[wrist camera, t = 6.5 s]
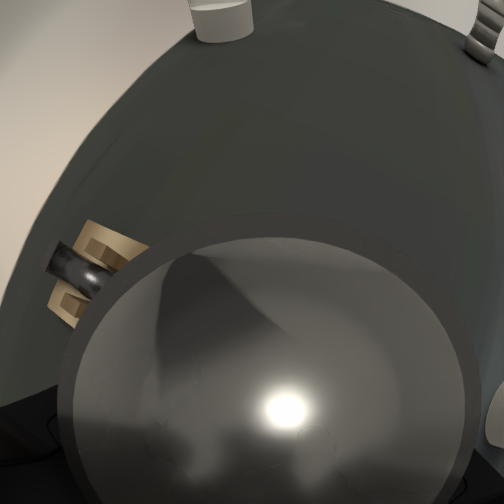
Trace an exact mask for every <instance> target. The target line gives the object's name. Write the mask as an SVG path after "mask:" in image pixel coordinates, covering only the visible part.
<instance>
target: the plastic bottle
mask: <svg viewBox="0 0 504 504" xmlns="http://www.w3.org/2000/svg"><path fill="white" fill-rule="evenodd" d="M476 17H477V18H476V20H475V23H474V25H473V27H472V30H471V31H470V33H469V35H468V36H467V37H466V39H465V44H464V47H465V50H466V51H467V52H468V53H469V54H470V55H471V56H472V57H474V58H475V59H476V60H478V61H480V62H482V63H484V64H488V63H490V61H491V60H492V59H493V55H494V49H495V46H496V42H497V39H498V36H499V33H500V32H501V30H502V28H503V26H504V0H479V5H478V12H477V16H476Z"/></svg>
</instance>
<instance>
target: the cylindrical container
mask: <svg viewBox="0 0 504 504" xmlns="http://www.w3.org/2000/svg"><path fill="white" fill-rule="evenodd" d="M485 434H486V438H487V440H488V442H489V443H490V444H491V445H494V446H497V447H501V448H504V381H503V382H502V384H501V385H500V386H499V388H498V389H497V391H496V393H495V395H494V397H493V399H492V401H491V403H490V406H489V409H488V412H487V417H486V423H485Z"/></svg>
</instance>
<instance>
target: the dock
mask: <svg viewBox="0 0 504 504" xmlns="http://www.w3.org/2000/svg"><path fill="white" fill-rule="evenodd" d="M147 248H149V247H148V246H146V245H144V244H142V243H139V242H137V241H135V240H132V239H130V238H128V237H126V236H123V235H121V234H119V233H117V232H114V231H112V230H110V229H108V228H106V227H103V226H101V225H99V224H97V223H95V222H92V221H90V220H87V222H86V224H85V226H84V227H83V229H82V231H81V233H80V235H79V237H78V239H77V241H76V243H75V245H74V247H73V249H74V250H75V251H77V252H78V253H79V254H81V255H83V256H84V257H86V258H88V259H89V260H91V261H93V262H95V263H96V264H98V265H100V266H102V267H104V268H105V269H107V270H109V271H111V272H113V273H114V274H115V273H116V272H117V271H119V270H120V269H121V268H122V267H123V266H124V265H125V264H126V263H127V262H129V261H130V260H132V259H133V258H134V257H136V256H137V255H139V254H140V253H142V252H143V251H145V250H146V249H147ZM90 301H91V300H89V299H88V298H86V297H85V296H83V295H82V294H80V293H79V292H77V291H76V290H75V289H73V288H72V287H70V286H69V285H68V284H66V283H65V282H63V281H62V280H61V279H58V281H57V283H56V286H55V288H54V290H53V293H52V295H51V298H50V300H49V303H48V305H47V306H48V307H49V308H50V309H51V310H52V311H53V312H55V313H56V314H57V315H58V316H59V317H61V318H62V319H63V320H64V321H66V322H67V323H68V324H69V325H71V326H72V327H73V328H74V329H75V326H76V324H77V322H78V320H79V319H80V317H81V315H82V314H83V312H84V311H85V309H86V308H87V306H88V304H89V303H90Z"/></svg>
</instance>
